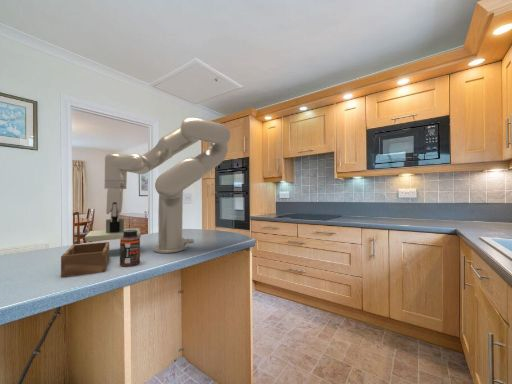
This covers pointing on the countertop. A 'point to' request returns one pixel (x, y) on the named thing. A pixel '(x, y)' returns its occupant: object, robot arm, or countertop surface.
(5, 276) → the countertop surface
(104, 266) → the box
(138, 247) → the supplement bottle
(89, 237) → the lid
